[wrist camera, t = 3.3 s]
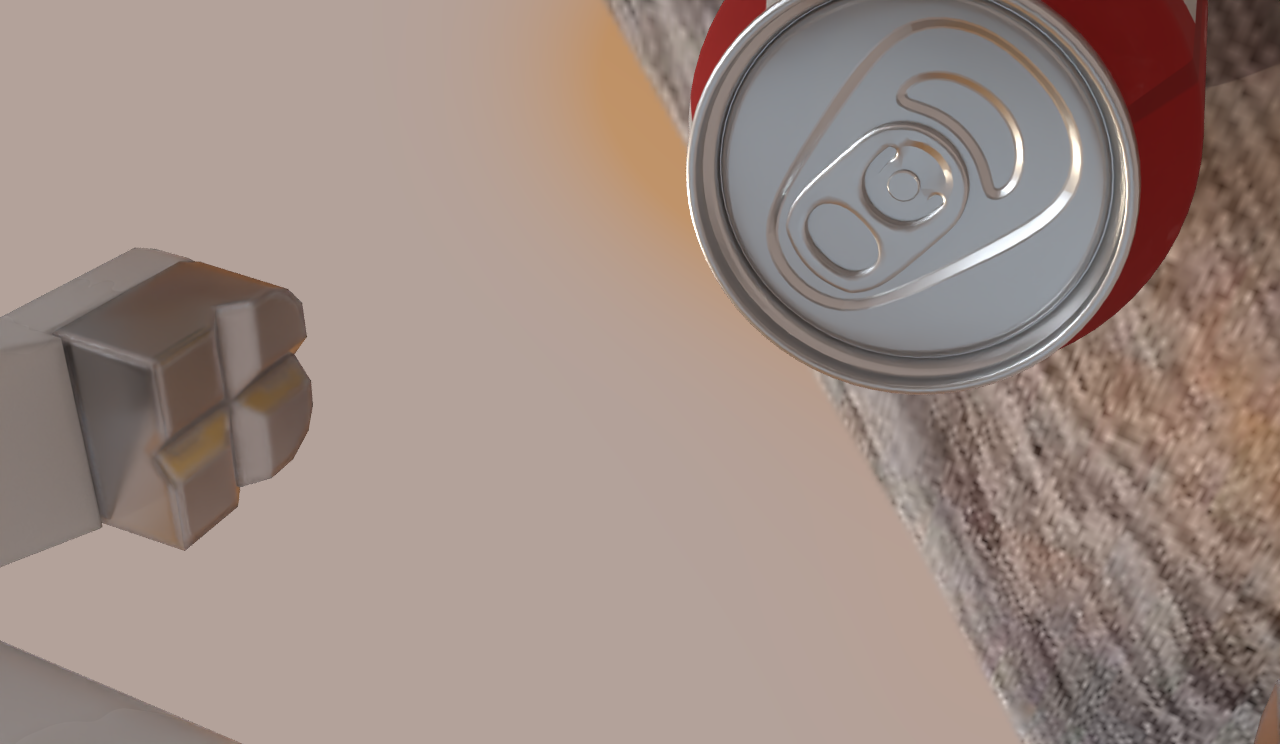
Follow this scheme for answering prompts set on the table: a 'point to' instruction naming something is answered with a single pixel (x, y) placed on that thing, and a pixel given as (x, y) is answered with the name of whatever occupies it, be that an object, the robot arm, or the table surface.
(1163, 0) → the soda can
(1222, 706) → the table surface
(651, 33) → the table surface
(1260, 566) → the table surface
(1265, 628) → the table surface
